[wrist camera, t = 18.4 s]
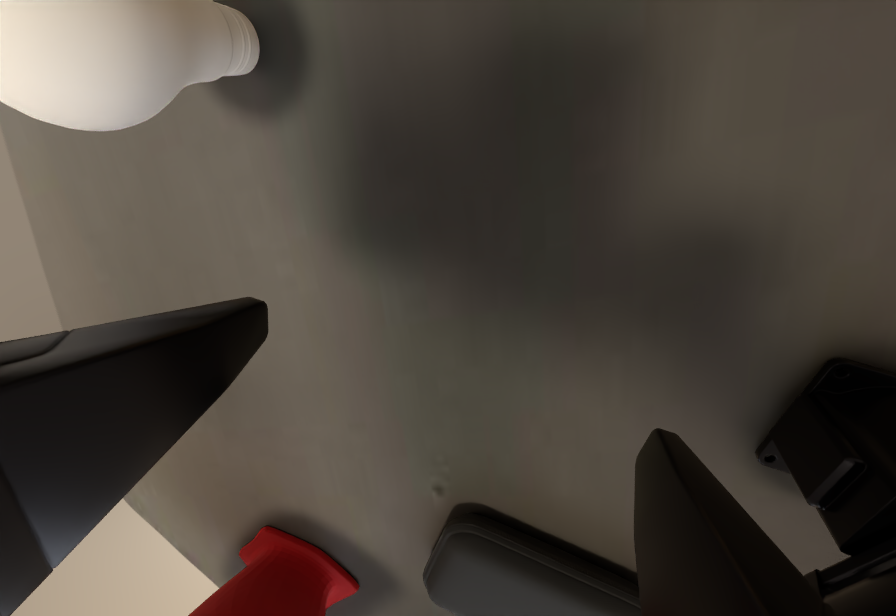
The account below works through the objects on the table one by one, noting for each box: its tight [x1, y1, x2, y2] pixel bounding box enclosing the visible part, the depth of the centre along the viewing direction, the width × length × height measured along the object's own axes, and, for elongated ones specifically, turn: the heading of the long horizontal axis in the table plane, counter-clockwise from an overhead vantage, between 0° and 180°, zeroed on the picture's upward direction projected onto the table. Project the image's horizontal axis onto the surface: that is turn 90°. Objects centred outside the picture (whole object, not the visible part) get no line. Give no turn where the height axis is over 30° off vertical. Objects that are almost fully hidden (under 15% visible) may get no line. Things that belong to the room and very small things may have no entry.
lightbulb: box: [0, 0, 260, 131], centre depth 14 cm, size 6×6×11 cm
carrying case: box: [423, 513, 641, 616], centre depth 30 cm, size 11×3×15 cm
